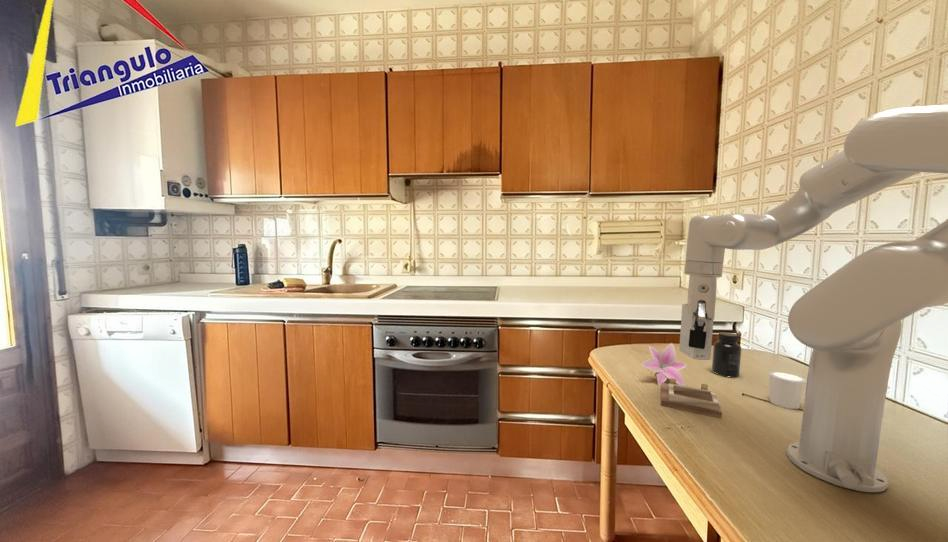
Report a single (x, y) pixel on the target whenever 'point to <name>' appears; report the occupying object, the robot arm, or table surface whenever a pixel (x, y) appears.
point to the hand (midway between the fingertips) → (695, 342)
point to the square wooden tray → (690, 399)
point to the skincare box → (685, 332)
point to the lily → (665, 365)
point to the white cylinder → (786, 389)
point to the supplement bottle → (727, 355)
